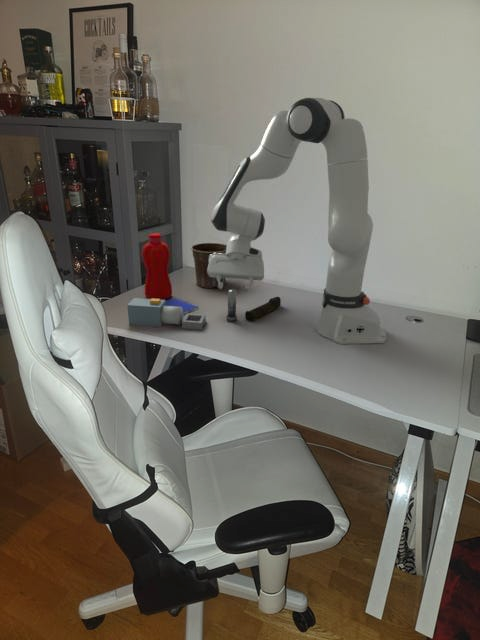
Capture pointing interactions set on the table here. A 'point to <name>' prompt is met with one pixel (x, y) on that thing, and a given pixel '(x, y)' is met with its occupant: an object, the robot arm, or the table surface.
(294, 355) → the table surface
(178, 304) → the hard drive
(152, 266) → the water bottle
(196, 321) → the handheld vacuum
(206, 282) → the plant pot
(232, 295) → the grey peg
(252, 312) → the hand tool
